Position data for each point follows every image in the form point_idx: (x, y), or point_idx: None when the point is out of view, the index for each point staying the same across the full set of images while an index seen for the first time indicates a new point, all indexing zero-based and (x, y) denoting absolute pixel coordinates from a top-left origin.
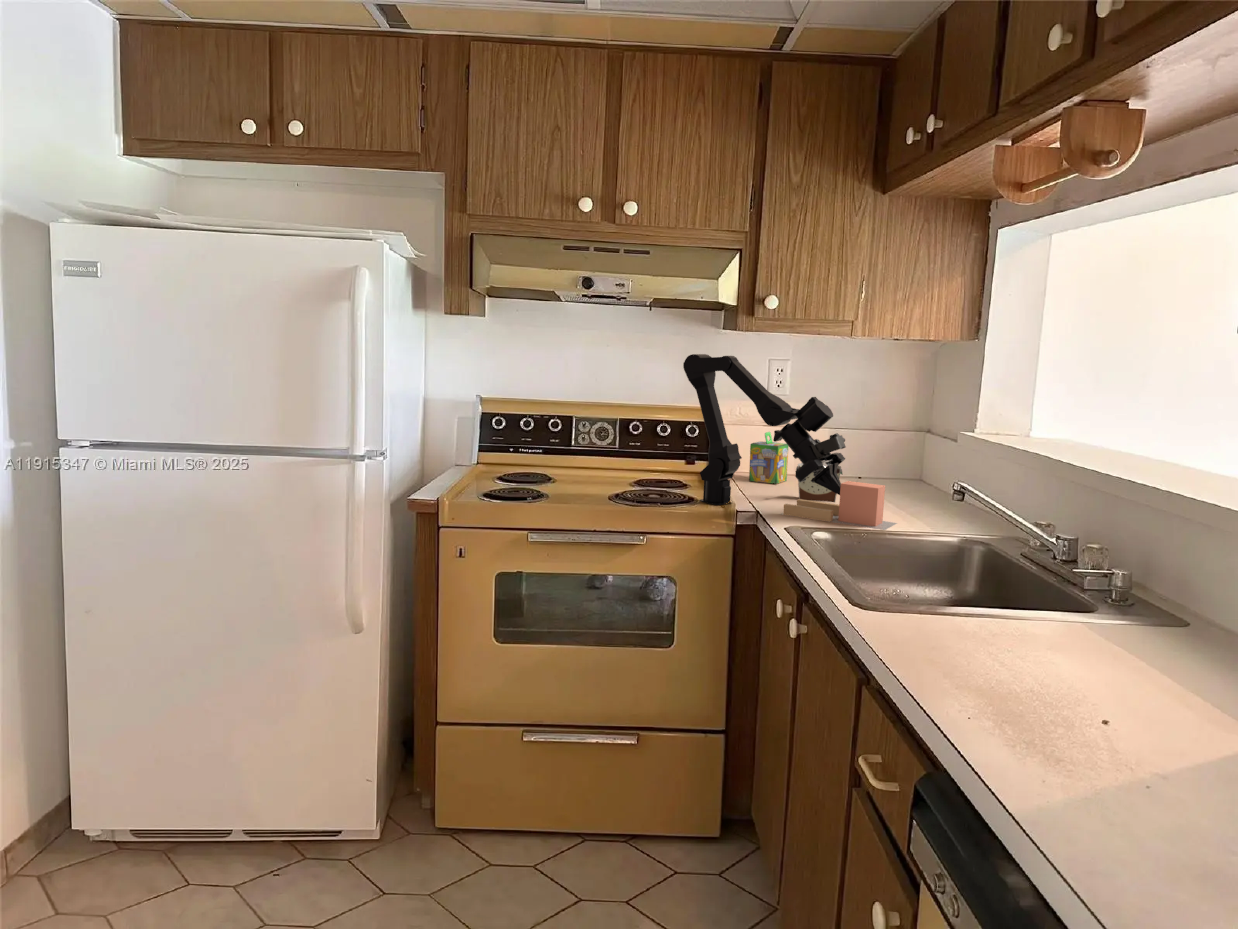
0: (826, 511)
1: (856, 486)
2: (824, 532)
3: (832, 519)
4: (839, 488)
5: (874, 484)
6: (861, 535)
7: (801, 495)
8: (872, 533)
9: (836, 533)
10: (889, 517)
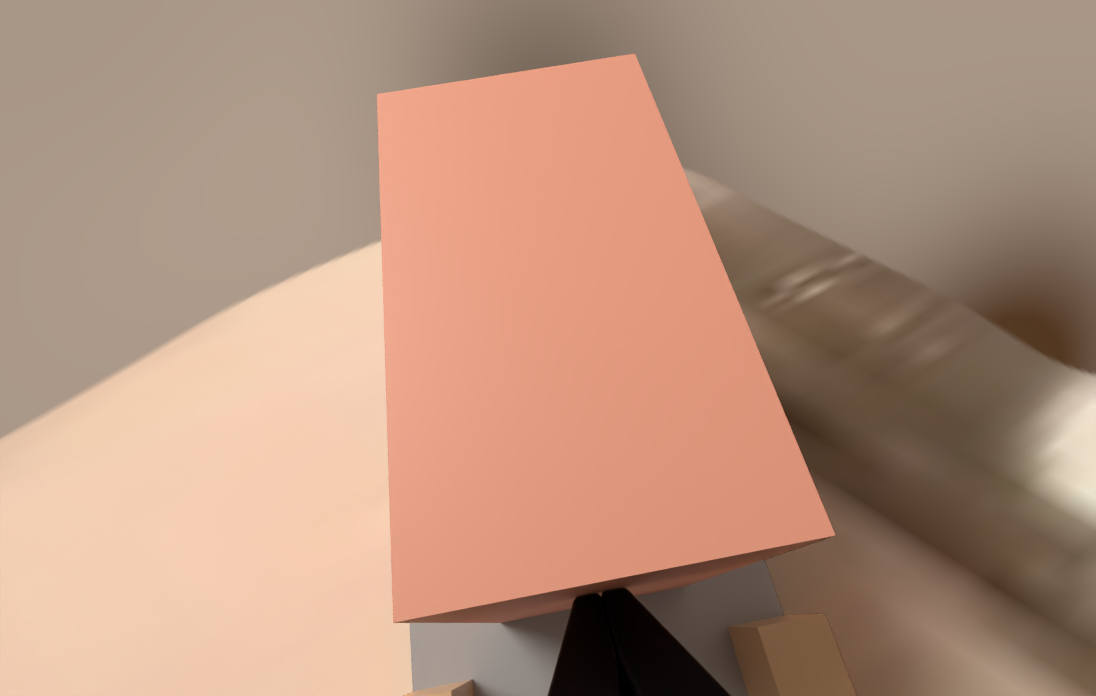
0: (842, 674)
1: (720, 274)
2: (1051, 470)
3: (738, 624)
4: (677, 652)
5: (400, 183)
6: (845, 279)
7: None
8: (733, 268)
9: (975, 398)
10: (147, 440)
